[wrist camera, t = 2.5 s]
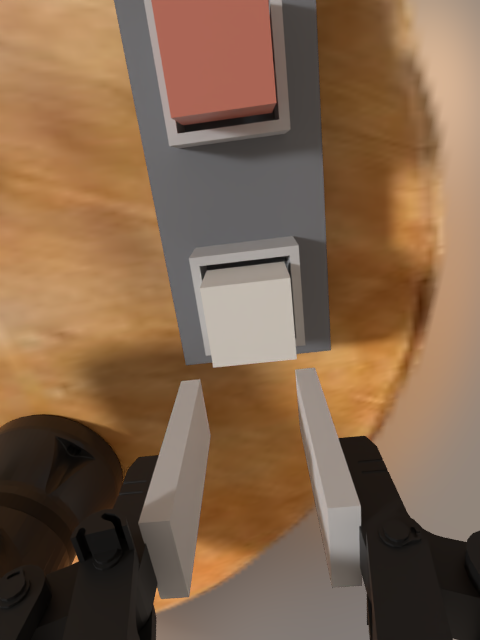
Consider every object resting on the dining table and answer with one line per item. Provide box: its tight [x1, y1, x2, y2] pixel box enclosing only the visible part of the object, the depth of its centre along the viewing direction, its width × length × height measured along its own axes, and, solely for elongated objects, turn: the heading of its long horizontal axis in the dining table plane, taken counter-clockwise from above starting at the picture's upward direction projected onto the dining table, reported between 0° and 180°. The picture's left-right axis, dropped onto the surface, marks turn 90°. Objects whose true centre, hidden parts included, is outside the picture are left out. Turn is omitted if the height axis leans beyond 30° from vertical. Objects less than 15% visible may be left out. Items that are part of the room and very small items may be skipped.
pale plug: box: [200, 262, 297, 368], centre depth 25 cm, size 5×5×4 cm
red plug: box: [151, 0, 276, 125], centre depth 20 cm, size 5×5×4 cm
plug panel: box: [114, 0, 331, 365], centre depth 28 cm, size 26×12×8 cm, turn 7°
